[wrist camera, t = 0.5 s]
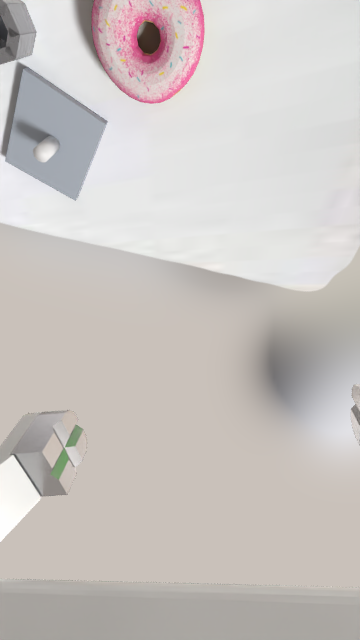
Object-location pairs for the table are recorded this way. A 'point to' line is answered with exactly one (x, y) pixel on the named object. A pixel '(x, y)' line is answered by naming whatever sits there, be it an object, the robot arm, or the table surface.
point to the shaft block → (53, 135)
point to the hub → (16, 31)
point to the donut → (142, 68)
